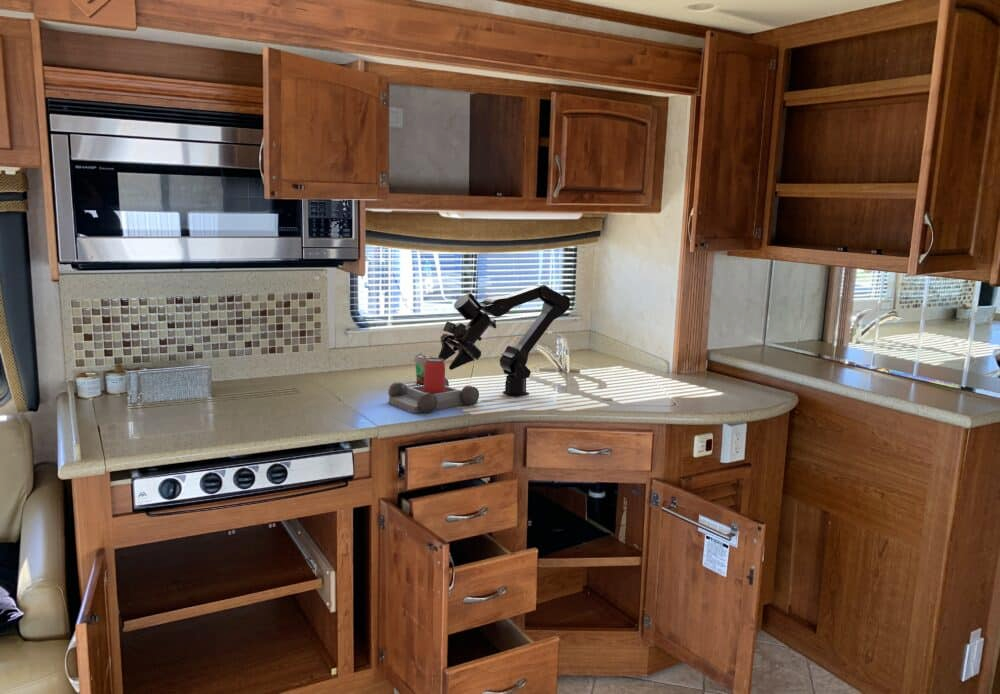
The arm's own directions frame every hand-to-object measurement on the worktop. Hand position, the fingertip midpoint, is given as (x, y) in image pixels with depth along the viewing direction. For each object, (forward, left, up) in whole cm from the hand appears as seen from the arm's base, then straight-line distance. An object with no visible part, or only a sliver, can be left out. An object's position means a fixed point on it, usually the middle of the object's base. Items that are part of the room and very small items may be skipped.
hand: (443, 366), depth 247 cm
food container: (-9, -24, -12) cm, 28 cm away
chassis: (+3, -1, -12) cm, 12 cm away
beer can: (+3, -1, -10) cm, 10 cm away
